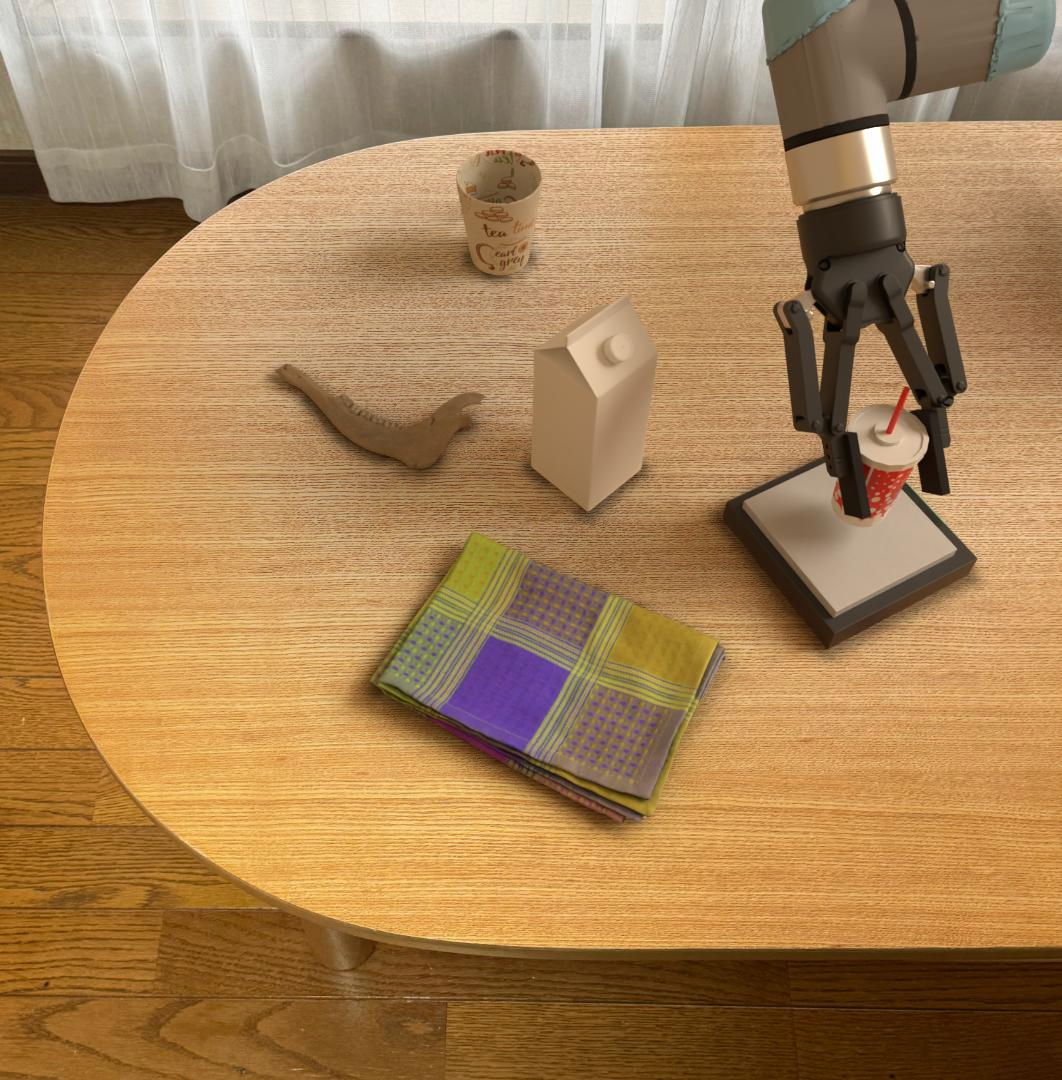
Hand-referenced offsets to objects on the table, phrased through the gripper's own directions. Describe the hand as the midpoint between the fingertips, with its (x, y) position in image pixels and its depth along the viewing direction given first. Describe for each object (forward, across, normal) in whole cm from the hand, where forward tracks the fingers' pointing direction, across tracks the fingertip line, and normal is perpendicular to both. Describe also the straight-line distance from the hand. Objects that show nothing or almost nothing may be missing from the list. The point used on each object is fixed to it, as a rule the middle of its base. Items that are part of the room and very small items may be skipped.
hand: (897, 503), depth 90 cm
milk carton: (-5, +18, -21) cm, 28 cm away
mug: (-27, +15, -43) cm, 53 cm away
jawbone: (-15, +33, -31) cm, 48 cm away
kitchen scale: (+5, 0, -10) cm, 11 cm away
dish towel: (+8, +28, -8) cm, 30 cm away
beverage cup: (+1, 0, -6) cm, 6 cm away
